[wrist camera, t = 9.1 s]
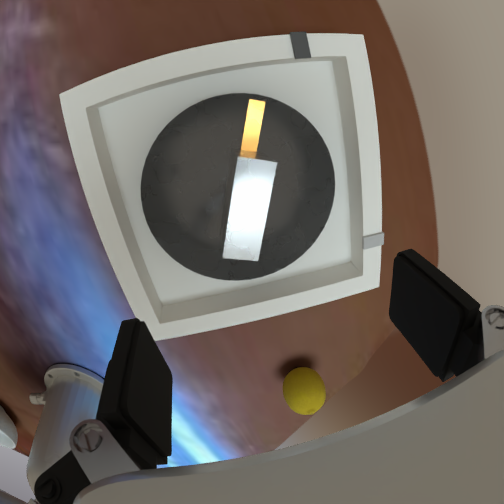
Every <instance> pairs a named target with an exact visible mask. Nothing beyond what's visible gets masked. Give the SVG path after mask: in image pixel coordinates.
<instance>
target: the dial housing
mask: <svg viewBox="0 0 504 504" xmlns="http://www.w3.org/2000/svg"><path fill="white" fill-rule="evenodd" d="M230 93H249V94H258V95H262V96H266V97H270V98H273V99H276V100H278V101H281V102H283V103H285V104H287V105H289V106H290V107H292V108H294V109H295V110H297V111H298V112H299V113H301V114H302V115H303V116H304V117H306V118H307V119H308V121H309V122H310V123H311V124H312V125H313V126H314V127H315V128H316V130H317V131H318V132H319V134H320V135H321V137H322V138H323V140H324V142H325V144H326V146H327V148H328V150H329V153H330V156H331V159H332V163H333V167H334V173H335V195H334V201H333V206H332V209H331V213H330V216H329V218H328V221H327V223H326V225H325V227H324V229H323V231H322V232H321V234H320V235H319V237H318V238H317V240H316V241H315V242H314V243H313V245H312V246H311V247H310V248H309V249H308V250H307V251H306V252H305V253H304V254H303V255H302V256H301V257H299V258H298V259H297V260H296V261H294V262H293V263H291V264H290V265H288V266H287V267H285V268H283V269H281V270H279V271H277V272H275V273H272V274H269V275H266V276H264V277H260V278H255V279H251V280H241V281H228V280H220V279H214V278H210V277H206V276H203V275H200V274H198V273H195V272H193V271H191V270H189V269H187V268H185V267H184V266H182V265H181V264H179V263H178V262H177V261H175V260H174V259H173V258H172V257H170V256H169V255H168V254H167V253H166V252H165V251H164V250H163V248H162V247H161V246H160V245H159V244H158V242H157V241H156V239H155V238H154V236H153V234H152V233H151V231H150V229H149V226H148V224H147V222H146V219H145V216H144V212H143V209H142V202H141V178H142V171H143V167H144V164H145V160H146V157H147V155H148V153H149V150H150V148H151V146H152V144H153V143H154V141H155V140H156V138H157V136H158V135H159V134H160V132H161V131H162V130H163V129H164V128H165V126H166V125H167V124H168V123H169V122H170V121H171V120H172V119H174V118H175V117H176V116H177V115H178V114H180V113H181V112H182V111H184V110H185V109H187V108H188V107H190V106H192V105H194V104H196V103H198V102H200V101H202V100H205V99H208V98H211V97H214V96H219V95H224V94H230ZM59 96H60V101H61V106H62V111H63V116H64V120H65V125H66V129H67V133H68V137H69V141H70V145H71V149H72V153H73V156H74V160H75V164H76V167H77V170H78V174H79V177H80V180H81V184H82V187H83V190H84V193H85V196H86V199H87V202H88V205H89V208H90V211H91V214H92V216H93V219H94V222H95V225H96V227H97V230H98V233H99V235H100V238H101V240H102V243H103V245H104V248H105V250H106V253H107V255H108V258H109V260H110V263H111V265H112V267H113V270H114V272H115V274H116V276H117V279H118V281H119V283H120V285H121V288H122V290H123V292H124V294H125V296H126V298H127V300H128V302H129V305H130V307H131V309H132V311H133V313H134V315H135V317H136V318H138V319H139V320H140V321H144V322H145V323H146V325H147V327H148V329H149V331H150V333H151V335H152V337H153V339H154V341H158V340H163V339H169V338H174V337H180V336H185V335H190V334H195V333H200V332H205V331H210V330H215V329H220V328H224V327H229V326H233V325H238V324H242V323H247V322H251V321H255V320H260V319H264V318H268V317H272V316H276V315H280V314H284V313H288V312H292V311H296V310H300V309H304V308H307V307H311V306H315V305H319V304H322V303H326V302H329V301H333V300H336V299H340V298H343V297H347V296H350V295H354V294H357V293H360V292H364V291H367V290H370V289H373V288H377V287H379V280H380V264H381V245H384V233H383V232H382V194H381V167H380V151H379V138H378V127H377V117H376V108H375V100H374V93H373V86H372V79H371V73H370V67H369V62H368V56H367V51H366V46H365V41H364V36H363V35H359V34H331V33H316V34H306V32H290V33H289V35H275V36H264V37H254V38H246V39H239V40H232V41H226V42H220V43H214V44H209V45H204V46H199V47H195V48H190V49H186V50H182V51H178V52H174V53H170V54H166V55H162V56H159V57H155V58H152V59H148V60H145V61H142V62H139V63H136V64H133V65H130V66H127V67H124V68H121V69H118V70H116V71H113V72H110V73H108V74H105V75H102V76H100V77H97V78H95V79H93V80H90V81H88V82H85V83H83V84H81V85H79V86H76V87H74V88H72V89H70V90H68V91H66V92H64V93H61V94H59Z"/></svg>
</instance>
